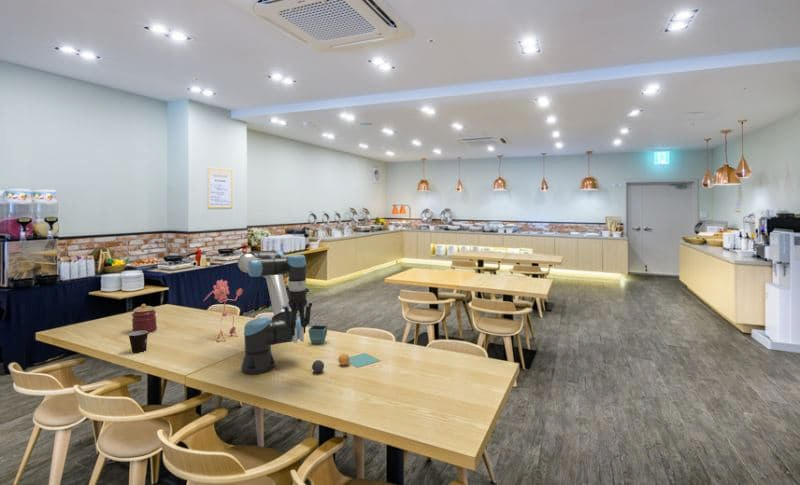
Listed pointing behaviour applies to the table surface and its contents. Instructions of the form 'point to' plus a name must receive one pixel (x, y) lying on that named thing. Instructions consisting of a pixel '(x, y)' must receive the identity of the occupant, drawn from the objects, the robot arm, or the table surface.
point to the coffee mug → (138, 341)
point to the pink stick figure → (220, 293)
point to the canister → (144, 319)
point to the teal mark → (362, 360)
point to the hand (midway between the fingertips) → (298, 341)
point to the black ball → (318, 366)
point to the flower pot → (317, 334)
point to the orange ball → (343, 359)
